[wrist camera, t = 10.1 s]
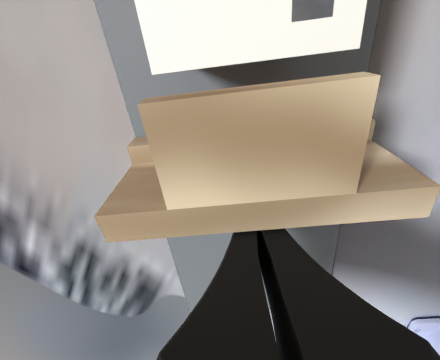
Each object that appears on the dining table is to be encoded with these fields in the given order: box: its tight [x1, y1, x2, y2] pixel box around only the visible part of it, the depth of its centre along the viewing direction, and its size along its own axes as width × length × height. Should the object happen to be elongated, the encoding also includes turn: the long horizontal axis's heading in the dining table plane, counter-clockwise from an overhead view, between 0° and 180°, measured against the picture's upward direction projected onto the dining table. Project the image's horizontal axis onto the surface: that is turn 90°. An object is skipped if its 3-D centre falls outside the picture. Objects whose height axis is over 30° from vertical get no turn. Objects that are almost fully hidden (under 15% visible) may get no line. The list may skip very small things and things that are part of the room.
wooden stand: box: [94, 72, 440, 242], centre depth 10 cm, size 6×11×5 cm, turn 97°
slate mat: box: [94, 0, 381, 313], centre depth 13 cm, size 25×11×1 cm, turn 7°
